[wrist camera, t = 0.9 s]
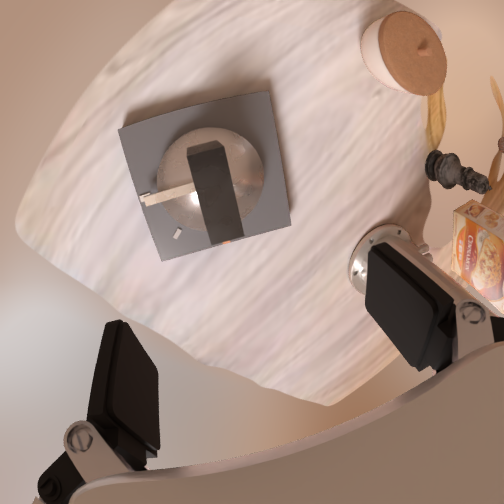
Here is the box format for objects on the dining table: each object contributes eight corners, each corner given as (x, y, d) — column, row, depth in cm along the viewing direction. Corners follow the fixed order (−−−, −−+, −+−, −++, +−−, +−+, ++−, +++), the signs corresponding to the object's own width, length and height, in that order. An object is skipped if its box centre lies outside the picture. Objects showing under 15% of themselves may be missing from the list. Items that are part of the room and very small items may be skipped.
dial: (249, 116, 27) (270, 117, 20) (268, 211, 32) (290, 239, 26) (132, 148, 26) (115, 159, 19) (162, 241, 31) (158, 276, 25)
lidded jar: (370, 9, 23) (416, -6, 15) (418, 63, 28) (465, 63, 20) (331, 52, 26) (376, 40, 18) (385, 109, 31) (435, 115, 23)
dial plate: (263, 92, 27) (269, 90, 26) (286, 219, 35) (291, 226, 34) (121, 128, 26) (117, 129, 24) (162, 253, 34) (161, 262, 32)
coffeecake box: (452, 210, 42) (531, 260, 25) (472, 197, 42) (546, 241, 25) (449, 270, 49) (509, 323, 33) (468, 256, 49) (527, 303, 33)
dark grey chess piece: (430, 142, 35) (490, 161, 24) (449, 156, 36) (504, 177, 26) (419, 176, 37) (477, 202, 27) (439, 187, 39) (492, 213, 28)
